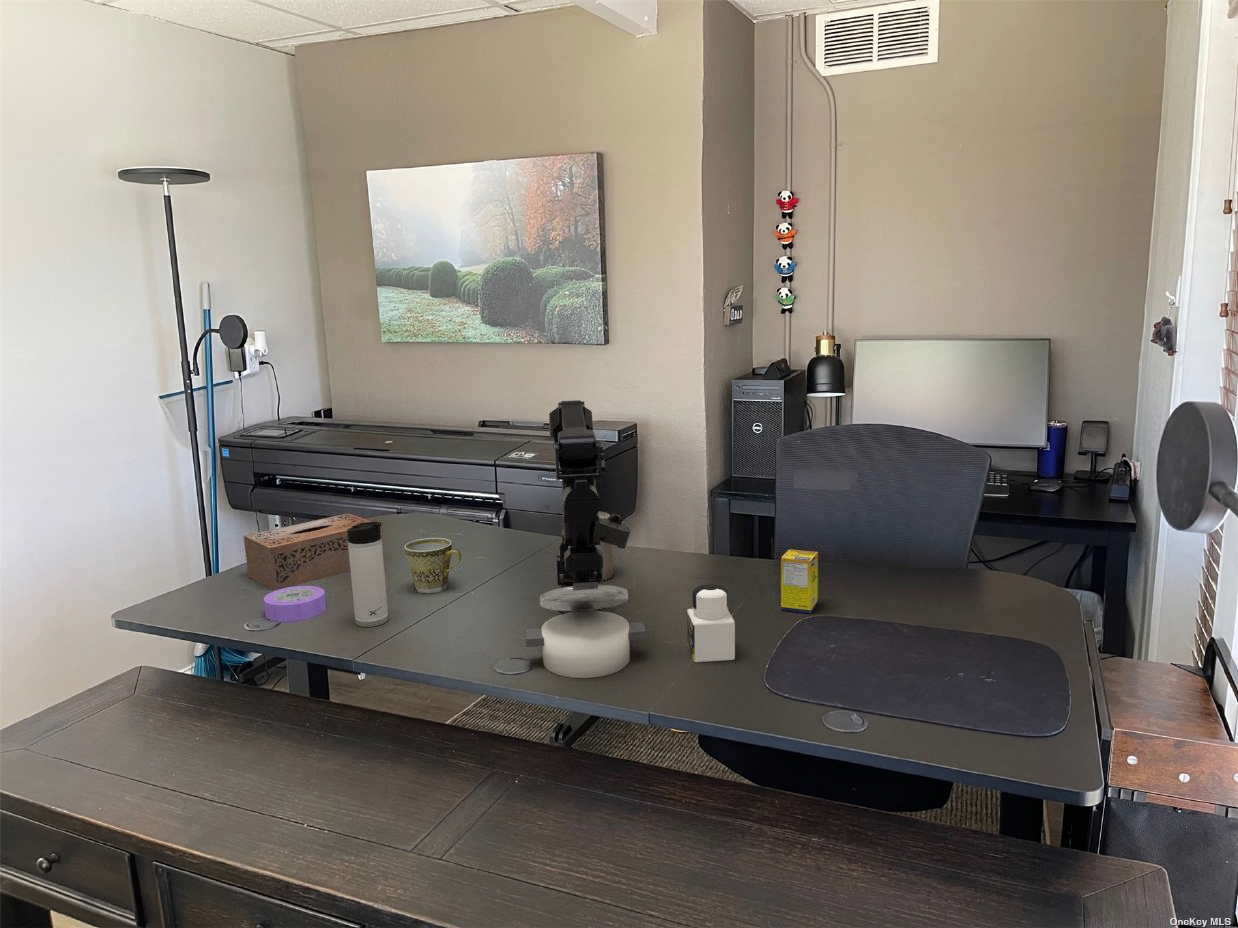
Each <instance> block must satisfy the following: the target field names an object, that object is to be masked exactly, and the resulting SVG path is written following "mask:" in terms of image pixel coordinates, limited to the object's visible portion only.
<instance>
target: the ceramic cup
mask: <svg viewBox="0 0 1238 928" xmlns="http://www.w3.org/2000/svg"><path fill="white" fill-rule="evenodd" d="M404 552H405V555H406V559H407V562H408V565H409V568H410V572H411V575H412V579H413V583H414V587H415V589H416V591H417V592H418V593H419V594H428V595H429V594H436V593H441V592H443V591H445V590H447V589H448V585H449V573H450V571H451V570H453V568H454V567H455V566H456V565H458V564H459V563H460V562H461V560H462V554H461V551H460V550H458V549H455V548H454V549H453V542H452V540H450V539H448V538H444V537H426V538H419V539H415V540H412V541H408V543H405V545H404ZM453 553H456V554H457V555H458V560H457V561H456V562H454V563H453V564H452V565H451V566H450V563H451V556H452V554H453Z"/></svg>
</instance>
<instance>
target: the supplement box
mask: <svg viewBox="0 0 1238 928" xmlns="http://www.w3.org/2000/svg"><path fill="white" fill-rule="evenodd" d="M818 554H819V552H818V551H810V550H801V549H800V550H799V549H798V550H797V549H788V550H787V551H786V552H785V553H784V554H783V555H782V556H781V558H780V590H781V591H780V598H781V599H780V602H781V603H780V608H781V611H783V612H794V613H803V614H809V615H810V614H812V613H813V611H814V609H815V608H816V606H817V605H818V591H819V589H818V586H819V585H818V583H819V578H818V577H819V575H818V571H819V569H818V567H819V563H818V562H819V558H818V557H819V555H818Z"/></svg>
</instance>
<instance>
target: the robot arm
mask: <svg viewBox="0 0 1238 928" xmlns="http://www.w3.org/2000/svg"><path fill="white" fill-rule="evenodd" d="M548 416H549V417H548V419H549V421H548V422H549V439H553V448H554V461H555V462H554V463H555V476H556V480H557V481H561V495H562V496H561V497H562V518H563V528H562V529H561V542H560V544H559V546H558V549H559V550H558V551H559V554H558V555H556V556H555V560H556V561H555V567H556V570H555V571H556V584H557V586H558V587H559V586H560V588H564V587H570V586H573V583H588V582H598V584H600V583H601V582H600V581H602V580H603V575H602V570H603V556H602V552H601V551H600V550H599V549H598V548H597V547H596V546H595V545H600V541H602V542H605V543H608V544H611V545H612V546H616V547H617V548H619V549H621V550H622V549H626V547H627V543H628V541H629V539H630V535H631V532H632V531H631V529H630V527H629V526H628V525H626V524H627V523H622V518H621V515H620V514H616V513H611V514H609V515H610V516H609V517H608V518H607V519H606V518H604V519H602V518H599V515H598V511H599V512H600V507H601V501H600V497H599V494H598V491H597V488H596V479H602V478H603V472H606V463H605V453H604V447H603V445H602V444H601V441H600V440H597V439H596V435H595V431H594V424H593V423H594V422H593V412H592V410H590V409H589V408H588V407H586V406H585V400H581V399H578V400H576V399H575V400H561V401H560V402H557V407H556V408H555V409H553V410H552V411H550V413H549V414H548ZM596 467H597V468H596ZM560 470H561V472H560ZM594 572H595V573H594ZM602 582H603V581H602ZM558 611H559V612H561V613H562V614H565V613H570V612H572V611H560V610H558ZM594 611H602V608H601V609H594Z"/></svg>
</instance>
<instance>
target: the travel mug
mask: <svg viewBox="0 0 1238 928" xmlns="http://www.w3.org/2000/svg"><path fill="white" fill-rule="evenodd" d="M382 524H383V523H382V522H379V521H372V522H367V523H361V524H357V525H354V526H352V528H350V529H347V534H348V544H349V545H348V548H349V559H350V569H351V571H350V578H351V586H352V587H351V588H352V589H351V590H352V598H353V599H352V600H353V609H354V621H355V624H356V625H357V626H358V627H363V628H372V627H373V628H374V627H377V626H382V625H384V624H386V622H388V621H389V612H388V610H389V609H388V600H387V599H388V598H387V589H386V585H387V584H386V575H385V564H384V552H383V541H382V539H383V538H382V534H381V533H382V532H381V528H382Z"/></svg>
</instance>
